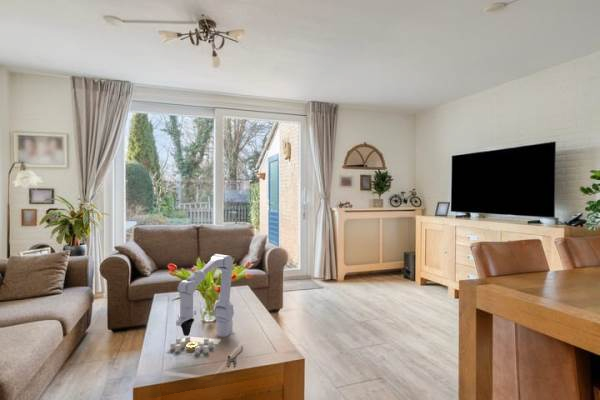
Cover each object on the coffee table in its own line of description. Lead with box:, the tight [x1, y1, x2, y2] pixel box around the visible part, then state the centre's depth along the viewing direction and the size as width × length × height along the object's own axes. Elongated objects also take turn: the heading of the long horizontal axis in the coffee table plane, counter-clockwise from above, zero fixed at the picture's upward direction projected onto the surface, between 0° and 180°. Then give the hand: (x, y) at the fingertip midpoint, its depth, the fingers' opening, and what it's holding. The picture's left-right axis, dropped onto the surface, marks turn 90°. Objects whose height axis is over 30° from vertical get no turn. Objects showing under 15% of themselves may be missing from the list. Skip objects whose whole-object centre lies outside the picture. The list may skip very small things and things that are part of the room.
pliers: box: [226, 345, 244, 368], centre depth 153 cm, size 10×1×20 cm
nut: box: [187, 342, 198, 351], centre depth 156 cm, size 6×5×2 cm
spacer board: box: [166, 335, 222, 358], centre depth 159 cm, size 18×20×4 cm
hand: (186, 335), depth 151 cm, fingers closed
